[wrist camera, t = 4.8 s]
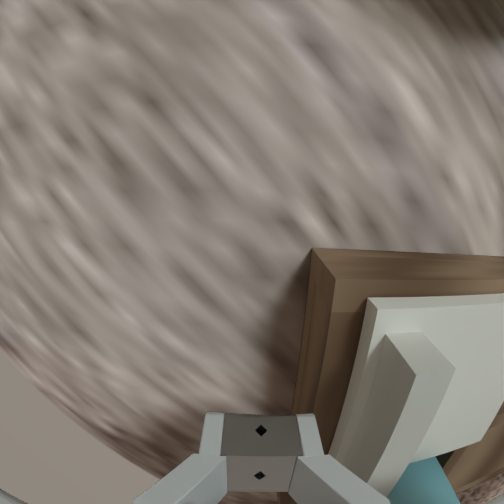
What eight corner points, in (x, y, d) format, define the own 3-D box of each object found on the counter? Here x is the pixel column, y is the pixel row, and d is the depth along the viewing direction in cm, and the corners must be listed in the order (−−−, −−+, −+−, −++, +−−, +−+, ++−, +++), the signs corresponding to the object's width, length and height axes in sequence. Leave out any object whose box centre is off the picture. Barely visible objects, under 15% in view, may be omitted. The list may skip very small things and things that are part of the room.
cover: (532, 291, 8) (577, 317, 6) (473, 430, 10) (498, 466, 8) (367, 297, 8) (410, 348, 6) (325, 463, 10) (337, 516, 8)
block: (418, 426, 13) (468, 519, 6) (393, 472, 14) (425, 555, 8) (343, 438, 13) (377, 552, 6) (326, 483, 14) (346, 578, 8)
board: (575, 260, 12) (608, 275, 9) (502, 438, 16) (520, 462, 13) (311, 248, 12) (335, 278, 8) (276, 489, 16) (280, 531, 12)
